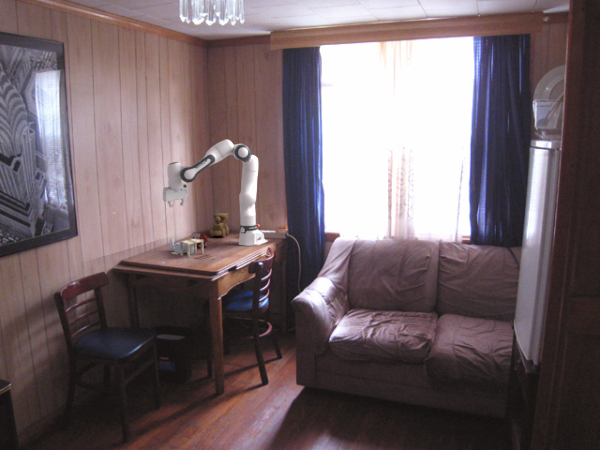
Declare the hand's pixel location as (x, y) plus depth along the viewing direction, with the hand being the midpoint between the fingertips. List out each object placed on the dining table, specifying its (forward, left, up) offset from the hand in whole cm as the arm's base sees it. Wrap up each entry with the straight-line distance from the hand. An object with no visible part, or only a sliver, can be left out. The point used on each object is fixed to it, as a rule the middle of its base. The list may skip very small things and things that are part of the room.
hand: (176, 206), depth 342 cm
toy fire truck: (-12, +9, -30) cm, 33 cm away
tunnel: (+7, +22, -30) cm, 38 cm away
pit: (+7, +33, -30) cm, 45 cm away
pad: (+7, +10, -30) cm, 32 cm away
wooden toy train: (-49, -9, -30) cm, 58 cm away
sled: (+7, +12, -30) cm, 33 cm away
